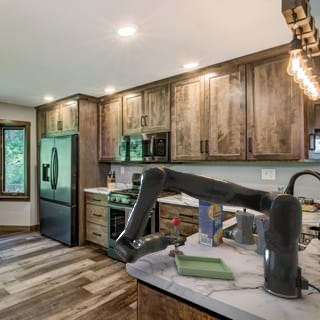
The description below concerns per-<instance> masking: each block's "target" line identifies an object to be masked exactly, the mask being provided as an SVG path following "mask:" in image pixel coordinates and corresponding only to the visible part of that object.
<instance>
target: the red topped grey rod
mask: <svg viewBox="0 0 320 320" xmlns="http://www.w3.org/2000/svg"><path fill="white" fill-rule="evenodd" d="M171 223H172V225H173V226H174V237H177V238H179V227H180V225H181V224H182V221H181V219H180V217H179V216H173V219H172V221H171ZM175 254H176V255H184V251H182V250H181V249H179V247H175V246H174V249H170V250H169V256H170V257H173V258H175Z"/></svg>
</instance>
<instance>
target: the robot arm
mask: <svg viewBox="0 0 320 320" xmlns="http://www.w3.org/2000/svg"><path fill="white" fill-rule="evenodd" d="M139 187H140V188H139V192H138V196H137V199H136V201H135V204H134V206H133V208H132V210H131V212H130V214H129V215H128V219H127V221H126V224H125V227H124V230H123V231H122V232H121V234H120V235H119V237H118V238H116V240H115V242H114V246H113V249H114V251H115V253H116V254H117V255H118V256H119V257H120V258H121V259H122V260H123V261H124V262H125V263H127V264H130V265H131V264H135V263H136V262H138V261H139V260H140V259H141V258H142V257H144V256H146V255H149V254H150V255H151V254H155V253H159V252H161V251H164V250H166V249H167V248H168V247H169V246H174V248H175V247H178V248H179V247H184V246H186V242H188V238H187V236H181V237H178V238H177V237H175V236H171V235H172V234H171V232H169V231H168V232H160V231H158V232H154V233H150V234H147V235H143V234H144V232H145V230H146V227H147V224H148V221H149V218H150V216H151V212H152V210H153V208H154V205H155V203H156V201H157V199H158V198H159V197H160V194H162V191H163V189H168V190H174V191H177V192H180V193H182V194H183V195H185V196H189V197H191V198H193V199H195V200H198V201H199V200H200V201H204V202H208V203H212V204H216V205H222V206H223V207H233V208H242V209H244V208H245V209H246V210H247V209H248V210H251V211H254V212H256V213H260V214H261V215H267V216H269V227H268V229H265V230H264V255H263V274H262V276H261V278H262V280H263V284H262V285H263V286H262V287H263V289H264V290H265V291H266V292H268V294H271V295H274V296H277V297H279V298H283V299H284V298H285V299H297V298H302V296H303V295H302V293H303V292H302V290H303V291H309V289H310V288H311V289H314V290H315V291H317V292H318V293H320V288H318V287H317V286H315V285H313V284H311V283H309V282H310V281H309V280H308V279H307V278H305V277H304V276H303V274H302V267H301V266H299V239H300V237H301V235H302V230H303V205H302V202H301V201H300V200H299V198H298V197H296V196H295V195H293V194H290V193H285V192H281V191H274V190H273V191H272V190H264V189H256V188H252V187H251V188H250V187H246V186H244V185H241V184H238V183H235V182H233V181H230V180H226V179H222V178H217V177H214V176H208V175H202V174H197V173H190V172H183V171H179V170H176V169H172V168H169V167H166V166H163V165H160V164H157V163H150V164H148V165H146V166H144V167H143V168H142V170H141V173H140V186H139ZM131 241H133V242H131ZM309 287H310V288H309Z"/></svg>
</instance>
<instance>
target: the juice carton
mask: <svg viewBox="0 0 320 320" xmlns="http://www.w3.org/2000/svg"><path fill="white" fill-rule="evenodd" d="M223 212H224V206H222V205H216V204H212V203H208V202H204V201H200V200H198V244H201V245H205V246H209V247H215V246H217V245H220V244H221V243H223V242H224V213H223Z"/></svg>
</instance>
